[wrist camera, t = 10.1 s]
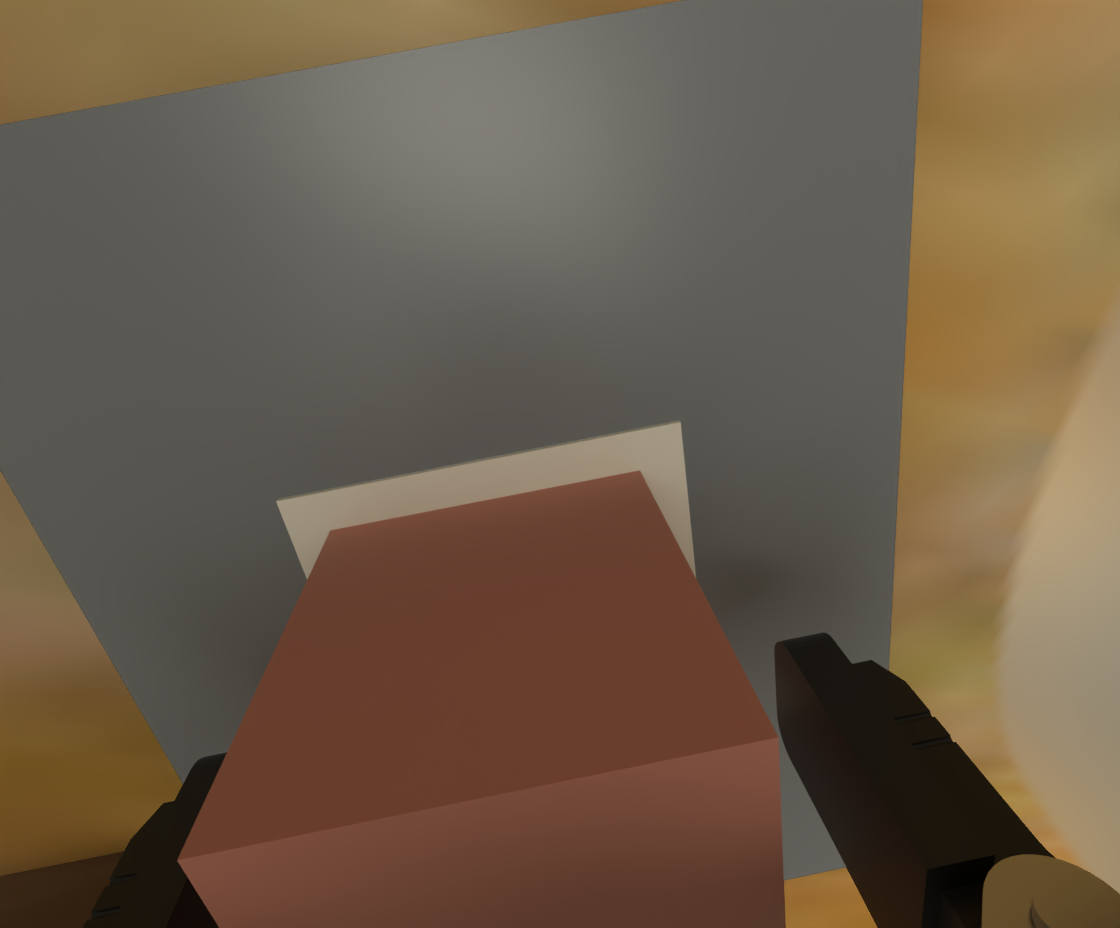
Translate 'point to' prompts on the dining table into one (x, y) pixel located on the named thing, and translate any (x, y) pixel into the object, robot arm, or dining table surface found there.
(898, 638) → the dining table surface
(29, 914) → the walnut block
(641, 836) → the red block
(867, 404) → the grey flat rectangular panel
